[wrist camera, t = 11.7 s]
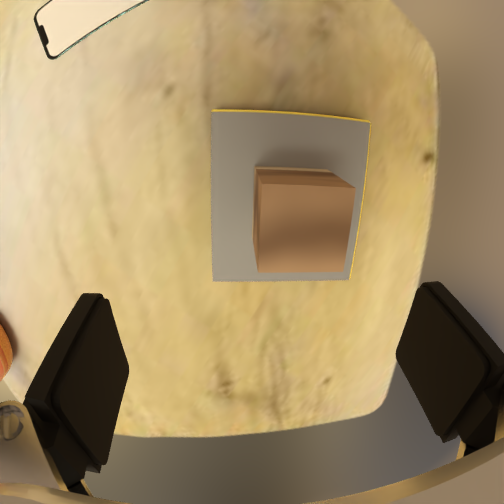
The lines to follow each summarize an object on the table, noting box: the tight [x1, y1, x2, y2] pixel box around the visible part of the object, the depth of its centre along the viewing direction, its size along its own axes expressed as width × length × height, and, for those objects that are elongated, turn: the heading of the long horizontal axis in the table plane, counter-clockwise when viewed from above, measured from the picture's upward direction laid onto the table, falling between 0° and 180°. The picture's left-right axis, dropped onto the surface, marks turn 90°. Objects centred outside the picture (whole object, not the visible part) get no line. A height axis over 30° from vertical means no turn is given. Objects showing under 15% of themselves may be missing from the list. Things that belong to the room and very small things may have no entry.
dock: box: [211, 110, 371, 281], centre depth 30 cm, size 16×14×3 cm
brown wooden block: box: [252, 166, 356, 273], centre depth 25 cm, size 6×6×7 cm
